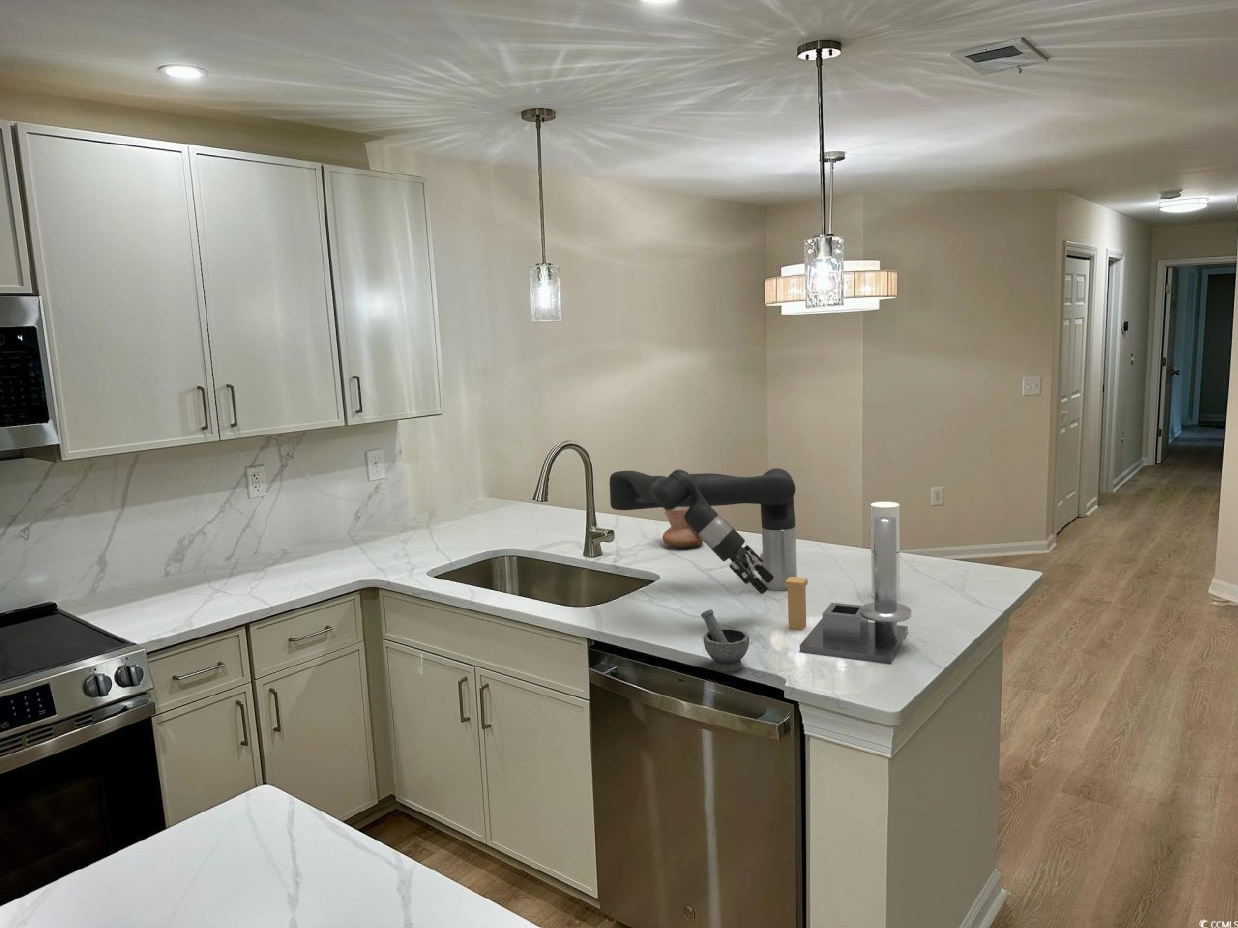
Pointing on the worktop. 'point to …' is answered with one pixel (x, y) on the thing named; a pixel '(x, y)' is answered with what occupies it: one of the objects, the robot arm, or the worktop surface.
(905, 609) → the grey fixture with cylinder
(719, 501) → the robot arm
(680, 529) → the ceramic jug
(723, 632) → the mortar and pestle
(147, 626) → the worktop surface
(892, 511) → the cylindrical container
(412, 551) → the worktop surface
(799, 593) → the orange square peg
